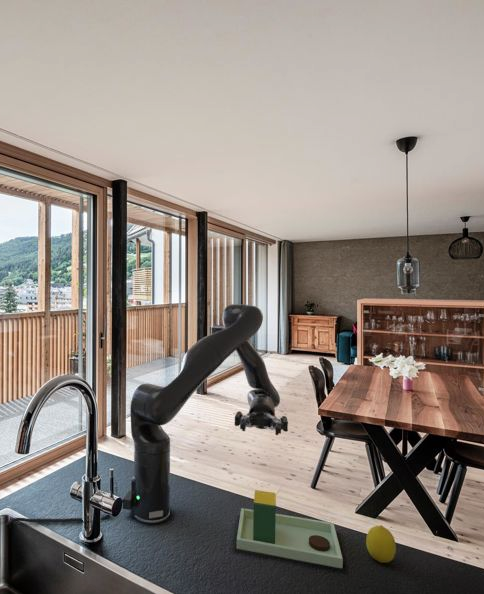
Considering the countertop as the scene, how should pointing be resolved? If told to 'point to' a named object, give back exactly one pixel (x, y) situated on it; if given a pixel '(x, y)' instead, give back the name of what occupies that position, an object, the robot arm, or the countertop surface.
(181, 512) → the countertop surface
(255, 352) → the robot arm
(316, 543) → the brown round disc
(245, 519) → the tray
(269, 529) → the sponge
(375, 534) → the lemon
